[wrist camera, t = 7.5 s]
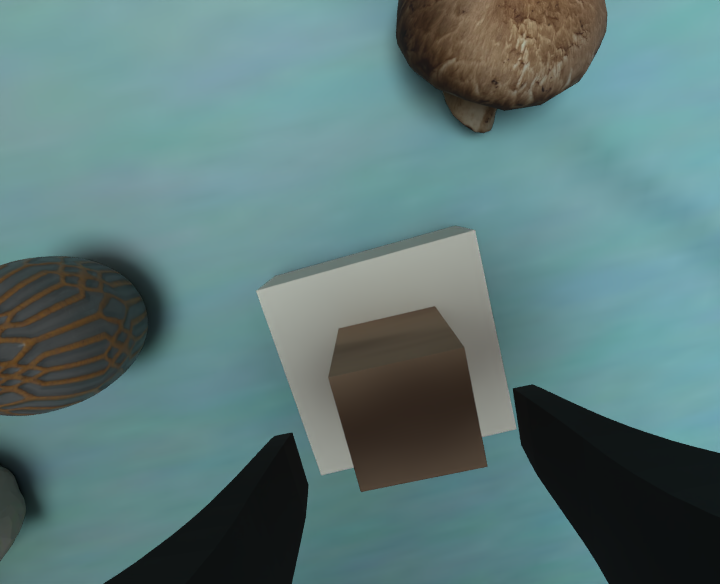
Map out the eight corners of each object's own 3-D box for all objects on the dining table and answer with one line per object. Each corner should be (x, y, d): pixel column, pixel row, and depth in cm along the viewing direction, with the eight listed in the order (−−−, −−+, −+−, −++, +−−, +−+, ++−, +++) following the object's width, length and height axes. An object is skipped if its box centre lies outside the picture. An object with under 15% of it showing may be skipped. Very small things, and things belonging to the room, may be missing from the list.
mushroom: (500, 198, 16) (578, 51, 10) (356, 116, 18) (353, -45, 12) (581, 97, 18) (680, -66, 13) (447, 36, 20) (479, -128, 15)
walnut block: (453, 394, 17) (487, 466, 13) (362, 413, 18) (360, 492, 13) (434, 306, 16) (464, 347, 12) (338, 328, 17) (328, 377, 12)
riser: (489, 389, 22) (516, 429, 18) (328, 428, 22) (321, 475, 19) (452, 225, 20) (475, 229, 16) (276, 274, 20) (255, 290, 16)
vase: (168, 255, 20) (18, 292, 11) (170, 372, 21) (40, 483, 13) (40, 242, 20) (-210, 268, 11) (51, 361, 21) (-160, 464, 13)
